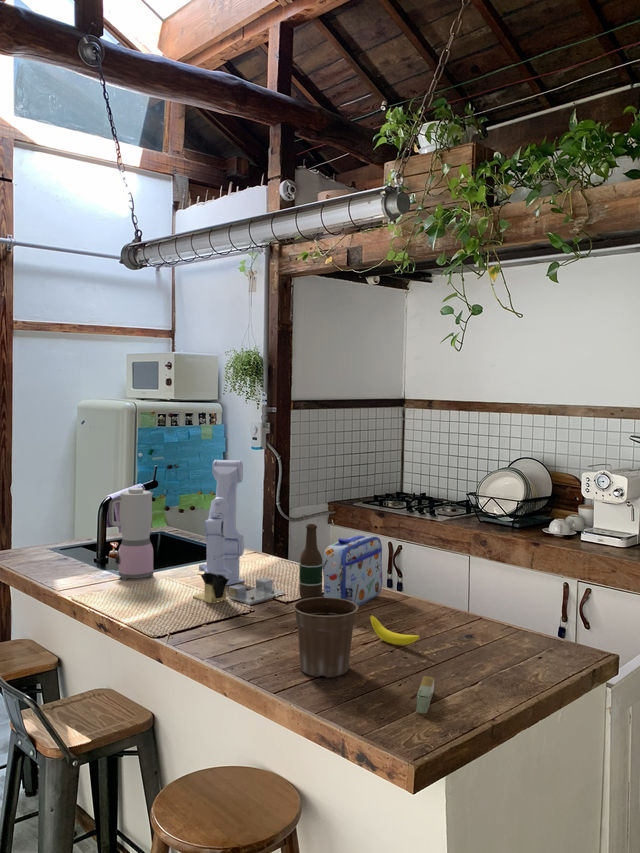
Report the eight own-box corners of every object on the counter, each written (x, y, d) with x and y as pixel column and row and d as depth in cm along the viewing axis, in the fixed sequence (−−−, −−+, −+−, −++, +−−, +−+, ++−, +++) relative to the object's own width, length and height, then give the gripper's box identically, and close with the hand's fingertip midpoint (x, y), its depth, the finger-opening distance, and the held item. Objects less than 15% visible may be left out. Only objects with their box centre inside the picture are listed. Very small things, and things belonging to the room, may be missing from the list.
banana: (415, 655, 197) (416, 632, 196) (365, 636, 211) (365, 614, 211) (423, 653, 199) (423, 629, 198) (372, 633, 213) (373, 612, 213)
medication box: (427, 715, 162) (428, 697, 162) (415, 713, 163) (415, 695, 163) (433, 693, 174) (434, 676, 174) (422, 691, 175) (422, 675, 174)
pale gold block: (192, 597, 245) (192, 579, 244) (207, 593, 249) (207, 576, 249) (211, 604, 238) (211, 585, 238) (225, 600, 243) (226, 581, 242)
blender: (150, 570, 277) (150, 485, 275) (157, 579, 266) (157, 490, 264) (106, 575, 271) (106, 487, 268) (112, 583, 260) (111, 492, 257)
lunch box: (346, 617, 227) (347, 546, 226) (317, 611, 233) (318, 541, 231) (385, 595, 251) (387, 530, 249) (358, 590, 256) (359, 527, 255)
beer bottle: (319, 600, 244) (320, 527, 243) (296, 598, 246) (297, 526, 244) (324, 593, 252) (325, 523, 250) (301, 591, 254) (302, 521, 252)
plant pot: (320, 651, 198) (321, 592, 197) (369, 667, 188) (371, 604, 187) (279, 669, 186) (279, 606, 185) (329, 687, 176) (330, 620, 175)
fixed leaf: (229, 598, 245) (229, 586, 245) (264, 588, 257) (264, 577, 256) (249, 604, 238) (249, 593, 238) (285, 594, 250) (285, 583, 250)
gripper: (191, 553, 243) (191, 594, 244) (220, 561, 233) (220, 603, 234) (208, 549, 248) (208, 590, 249) (237, 557, 238) (237, 599, 239)
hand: (215, 596), depth 242 cm, fingers closed on pale gold block, 3 cm apart
